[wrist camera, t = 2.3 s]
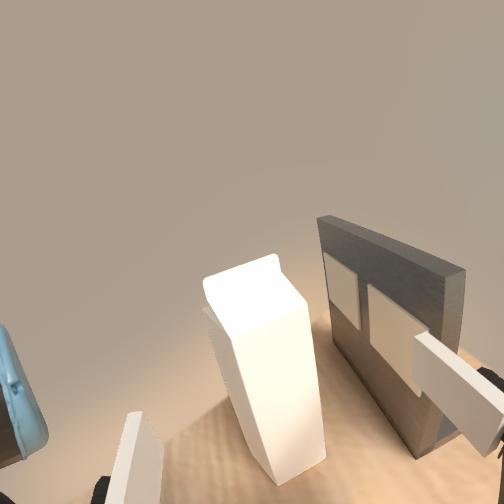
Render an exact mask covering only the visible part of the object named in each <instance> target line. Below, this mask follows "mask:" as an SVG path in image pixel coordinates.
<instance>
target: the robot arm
mask: <svg viewBox="0 0 504 504" xmlns="http://www.w3.org/2000/svg"><path fill="white" fill-rule="evenodd" d="M412 380H413V381H414V382H415V383H416V384H417V385H418V386H419V387H420V388H421V389H422V391H423V392H424V393H425V394H426V395H427V396H428V397H429V398H430V399H431V400H432V401H433V402H434V403H435V404H436V406H437V407H438V408H439V409H440V410H441V411H442V412H443V413H444V414H445V415H446V416H447V417H448V419H449V420H450V421H451V422H452V423H453V424H454V425H455V426H456V427H457V428H458V430H459V431H460V432H461V433H462V434H463V435H464V436H465V437H466V438H467V439H468V441H469V442H470V443H471V444H472V445H473V446H474V447H475V448H476V450H477V451H478V452H479V453H480V454H481V455H482V456H483V457H484V458H485V457H486V456H487V455H489V454H490V453H491V452H492V451H494V450H495V449H496V448H497V446H498V445H499V443H500V441H501V440H502V441H503V442H504V380H503V379H502V378H501V377H500V378H499V376H498V375H497V374H496V373H494V372H493V371H492V370H489V369H486V368H483V367H481V368H479V369H478V370H475V369H474V368H472V367H471V366H470V365H469V364H468V363H466V362H465V361H464V360H463V359H461V358H460V357H459V356H457V355H456V354H455V353H454V352H452V351H451V350H450V349H449V348H447V347H446V346H445V345H444V344H442V343H441V342H440V341H438V340H437V339H436V338H435V337H433V336H432V335H431V334H429V333H428V332H427V331H425V332H423V333H421V334H419V335H416V336H414V351H413V366H412ZM48 436H49V435H48V428H47V425H46V423H45V420H44V418H43V415H42V413H41V411H40V408H39V406H38V404H37V401H36V399H35V396H34V394H33V392H32V389H31V387H30V385H29V382H28V380H27V377H26V375H25V373H24V370H23V368H22V365H21V363H20V360H19V358H18V355H17V353H16V350H15V348H14V345H13V343H12V340H11V338H10V336H9V333H8V331H7V330H6V328H5V326H4V325H2V324H0V469H1V468H4V467H6V466H9V465H11V464H13V463H16V462H18V461H20V460H25V459H27V456H28V455H30V454H32V453H34V452H36V451H37V450H39V449H41V448H42V447H44V446H45V445H46V444H47V441H48ZM502 453H503V458H502V473H501V484H500V492H499V500H498V504H504V445H503V447H502V449H501V451H500V453H499V454H498V458H497V459H499V458H500V457H501V455H502ZM164 454H165V447H164V445H163V444H162V442H161V441H160V440H159V437H158V436H157V434H156V433H155V431H154V429H153V428H152V426H151V424H150V423H149V421H148V419H147V418H146V416H145V414H144V413H143V411H139V412H131V413H128V415H127V419H126V422H125V426H124V429H123V433H122V437H121V441H120V444H119V448H118V451H117V455H116V459H115V463H114V467H113V471H112V475H111V476H102V477H101V478H100V479H99V481H98V482H97V483H96V485H95V488H94V492H93V496H92V500H91V504H160V493H161V482H162V472H163V463H164ZM0 504H15V503H14V502H13V501H12V500H10V498H8V497H7V496H6V495H4V494H3V493H2V492H0Z"/></svg>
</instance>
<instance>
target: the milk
mask: <svg viewBox="0 0 504 504" xmlns="http://www.w3.org/2000/svg"><path fill="white" fill-rule="evenodd" d="M203 288H204V291H205V294H206V298H207V300H206V302H205V303H204V305H203V306H202V307H201V311H202V314H203V317H204V320H205V324H206V327H207V330H208V334H209V337H210V340H211V343H212V346H213V349H214V352H215V355H216V358H217V361H218V364H219V367H220V370H221V373H222V376H223V379H224V382H225V385H226V388H227V391H228V393H229V396H230V399H231V402H232V405H233V407H234V410H235V413H236V416H237V418H238V421H239V424H240V426H241V429H242V432H243V434H244V437H245V439H246V442H247V445H248V447H249V450H250V452H251V454H252V455H253V457H254V458H255V459H256V460H257V462H258V463H259V464H260V465H261V467H262V468H263V469H264V470H265V472H266V473H267V474H268V475H269V477H270V478H271V479H272V480H273V482H274V483H275V484H276V485H277V486H280V485H282V484H284V483H285V482H287V481H289V480H291V479H292V478H294V477H296V476H298V475H299V474H301V473H303V472H304V471H306V470H308V469H309V468H311V467H313V466H314V465H316V464H317V463H319V462H321V461H322V460H324V459H325V458H326V450H325V440H324V430H323V420H322V411H321V402H320V394H319V385H318V377H317V369H316V362H315V354H314V347H313V340H312V333H311V326H310V319H309V313H308V306H307V302H306V301H305V300H304V298H303V297H302V296H301V295H300V294H299V292H298V291H297V290H296V289H295V288H294V287H293V286H292V284H291V283H290V282H289V281H288V280H287V278H286V277H285V276H284V275H283V274H282V273H281V270H280V264H279V259H278V256H277V255H276V254H271V255H268V256H265V257H262V258H260V259H257V260H254V261H251V262H249V263H246V264H243V265H240V266H237V267H235V268H232V269H229V270H226V271H223V272H221V273H218V274H215V275H212V276H209V277H206V278H205V279H204V280H203Z"/></svg>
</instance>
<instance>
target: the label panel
mask: <svg viewBox="0 0 504 504" xmlns="http://www.w3.org/2000/svg"><path fill="white" fill-rule="evenodd" d="M317 224H318V229H319V236H320V242H321V248H322V255H323V262H324V270H325V276H326V285H327V292H328V299H329V309H330V317H331V326H332V336H333V342H334V344H335V345H336V346H337V348H338V349H339V351H340V352H341V353H342V355H343V356H344V358H345V359H346V360H347V362H348V363H349V365H350V366H351V367H352V369H353V370H354V372H355V373H356V374H357V376H358V377H359V379H360V380H361V382H362V383H363V384H364V386H365V387H366V389H367V390H368V391H369V393H370V394H371V396H372V397H373V399H374V400H375V401H376V403H377V404H378V406H379V407H380V409H381V410H382V411H383V413H384V414H385V416H386V417H387V419H388V420H389V421H390V423H391V424H392V426H393V427H394V429H395V430H396V431H397V433H398V434H399V436H400V437H401V439H402V440H403V442H404V443H405V444H406V446H407V447H408V449H409V450H410V452H411V453H412V455H413V456H414V457H415V459H416V460H417V459H418V458H420V457H422V456H424V455H426V454H428V453H430V452H431V451H433V450H435V449H437V448H439V447H440V446H442V445H444V444H445V443H447V442H449V441H450V440H452V439H454V438H455V437H457V436H458V435H460V434H462V433H461V432H460V431H459V430H458V428H457V427H456V426H455V425H454V424H453V423H452V422H451V421H450V420H449V419H448V417H447V416H446V415H445V414H444V413H443V412H442V411H441V410H440V409H439V408H438V407H437V406H436V404H435V403H434V402H433V401H432V400H431V399H430V398H429V397H428V396H427V395H426V394H425V393H424V392H423V391H422V389H421V388H420V387H419V386H418V385H417V384H416V383H415V382H414V381H413V380H412V366H413V351H414V336H416V335H419V334H421V333H423V332H425V331H427V332H428V333H429V334H431V335H432V336H433V337H435V338H436V339H437V340H438V341H440V342H441V343H442V344H444V345H445V346H446V347H447V348H449V349H450V350H451V351H452V352H454V353H455V354H456V355H457V351H458V345H459V338H460V331H461V323H462V314H463V304H464V292H465V276H466V275H465V274H466V270H465V269H463V268H461V267H458V266H456V265H454V264H451V263H449V262H447V261H445V260H442V259H440V258H438V257H436V256H433V255H431V254H429V253H426V252H424V251H421V250H419V249H416V248H414V247H412V246H409V245H407V244H404V243H402V242H399V241H397V240H394V239H392V238H389V237H387V236H384V235H382V234H379V233H377V232H374V231H371V230H369V229H366V228H364V227H361V226H358V225H356V224H353V223H350V222H348V221H345V220H342V219H339V218H337V217H334V216H331V215H328V216H323V217H319V218H317Z"/></svg>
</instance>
